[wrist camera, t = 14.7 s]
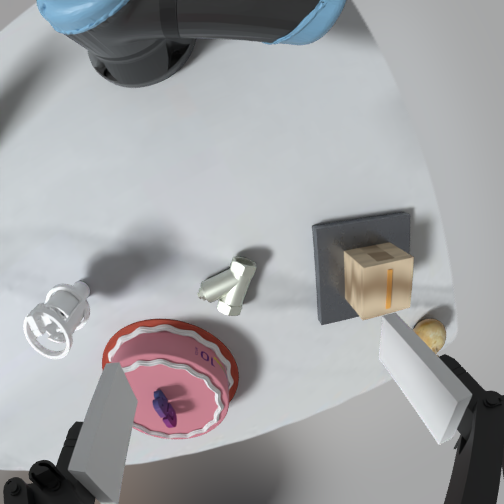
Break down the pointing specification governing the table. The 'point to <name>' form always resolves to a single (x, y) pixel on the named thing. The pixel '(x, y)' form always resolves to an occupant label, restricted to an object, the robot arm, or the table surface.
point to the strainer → (58, 317)
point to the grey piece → (332, 256)
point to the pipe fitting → (229, 286)
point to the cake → (174, 376)
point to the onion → (431, 333)
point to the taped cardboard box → (378, 279)
